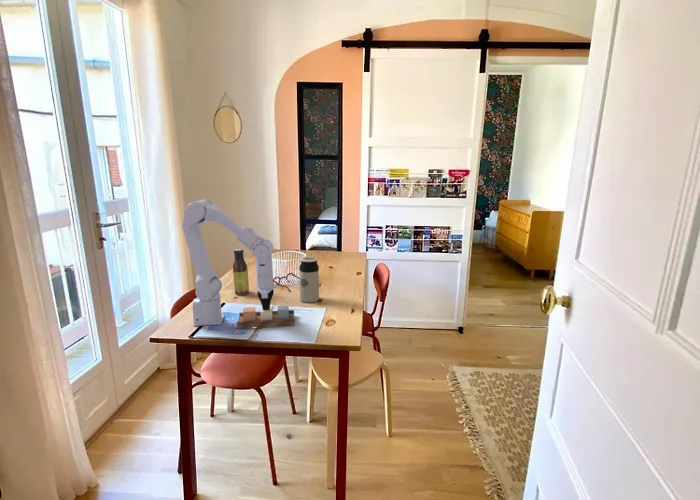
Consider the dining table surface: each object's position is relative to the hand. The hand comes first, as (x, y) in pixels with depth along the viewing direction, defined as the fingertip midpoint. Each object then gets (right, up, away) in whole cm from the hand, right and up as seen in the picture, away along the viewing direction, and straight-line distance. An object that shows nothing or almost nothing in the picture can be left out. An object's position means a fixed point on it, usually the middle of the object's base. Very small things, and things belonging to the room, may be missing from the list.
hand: (266, 310), depth 142 cm
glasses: (+3, +4, +41) cm, 42 cm away
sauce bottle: (-17, +3, +31) cm, 35 cm away
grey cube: (+6, -3, +2) cm, 7 cm away
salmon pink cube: (-6, -3, 0) cm, 7 cm away
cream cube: (0, -3, +1) cm, 3 cm away
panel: (0, -4, +1) cm, 5 cm away
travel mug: (+13, +1, +24) cm, 27 cm away
